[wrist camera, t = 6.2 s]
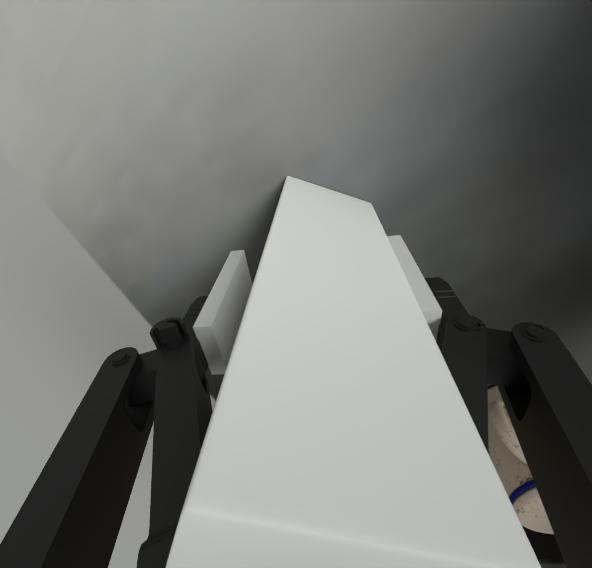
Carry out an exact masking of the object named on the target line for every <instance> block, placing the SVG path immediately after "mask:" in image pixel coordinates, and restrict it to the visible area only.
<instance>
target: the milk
mask: <svg viewBox="0 0 592 568" xmlns="http://www.w3.org/2000/svg"><path fill="white" fill-rule="evenodd" d="M165 568H541V566H540V564H539V562H538V560H537V558H536V555H535V553H534V551H533V549H532V547H531V545H530V542H529V540H528V538H527V536H526V534H525V532H524V529H523V527H522V525H521V523H520V521H519V519H518V517H517V514H516V512H515V510H514V508H513V506H512V504H511V502H510V499H509V497H508V495H507V493H506V491H505V489H504V487H503V484H502V482H501V480H500V478H499V476H498V474H497V472H496V469H495V467H494V465H493V463H492V461H491V459H490V457H489V454H488V452H487V450H486V448H485V446H484V444H483V442H482V439H481V437H480V435H479V433H478V431H477V429H476V427H475V424H474V422H473V420H472V418H471V416H470V414H469V412H468V409H467V407H466V405H465V403H464V401H463V399H462V397H461V394H460V392H459V390H458V388H457V386H456V384H455V382H454V379H453V377H452V375H451V373H450V371H449V369H448V367H447V364H446V362H445V360H444V358H443V356H442V354H441V352H440V349H439V347H438V345H437V343H436V341H435V339H434V337H433V334H432V332H431V330H430V328H429V326H428V324H427V322H426V319H425V317H424V315H423V313H422V311H421V309H420V307H419V304H418V302H417V300H416V298H415V296H414V294H413V292H412V289H411V287H410V285H409V283H408V281H407V279H406V277H405V274H404V272H403V270H402V268H401V266H400V264H399V262H398V259H397V257H396V255H395V253H394V251H393V249H392V247H391V244H390V242H389V240H388V238H387V236H386V234H385V232H384V229H383V227H382V225H381V223H380V221H379V219H378V217H377V214H376V212H375V210H374V208H373V206H372V204H371V203H369V202H366V201H363V200H360V199H357V198H354V197H351V196H348V195H345V194H342V193H339V192H336V191H333V190H330V189H327V188H324V187H321V186H318V185H315V184H312V183H309V182H306V181H303V180H300V179H297V178H294V177H290V176H287V177H286V180H285V183H284V186H283V189H282V192H281V196H280V199H279V202H278V205H277V208H276V212H275V215H274V218H273V221H272V224H271V228H270V231H269V234H268V237H267V240H266V244H265V247H264V250H263V253H262V256H261V260H260V263H259V266H258V269H257V272H256V276H255V279H254V282H253V285H252V288H251V291H250V295H249V298H248V301H247V304H246V307H245V311H244V314H243V317H242V320H241V323H240V327H239V330H238V333H237V336H236V339H235V343H234V346H233V349H232V352H231V355H230V359H229V362H228V365H227V368H226V371H225V375H224V378H223V381H222V384H221V387H220V390H219V394H218V397H217V400H216V403H215V407H214V410H213V413H212V416H211V419H210V422H209V426H208V429H207V432H206V435H205V438H204V442H203V445H202V448H201V451H200V454H199V458H198V461H197V464H196V467H195V470H194V474H193V477H192V480H191V483H190V486H189V490H188V493H187V496H186V499H185V502H184V506H183V509H182V512H181V515H180V519H179V522H178V525H177V529H176V532H175V536H174V539H173V543H172V546H171V550H170V553H169V557H168V560H167V564H166V567H165Z"/></svg>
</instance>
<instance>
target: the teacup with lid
mask: <svg viewBox="0 0 592 568" xmlns="http://www.w3.org/2000/svg"><path fill="white" fill-rule="evenodd" d="M488 447H489V457H490V459H491V461H492V463H493V465H494V467H495V469H496V472H497V474H498V476H499V478H500V480H501V482H502V484H503V487H504V489H505V491H506V493H507V495H508V497H509V499H510V502H511V504H512V506H513V508H514V510H515V512H516V514H517V517H518V519H519V521H520V523H521V525H523V526H524V527H526V528H528V529H530V530H533V531H537V532H541V533H548V534H554V532H553V530H552V527H551V525H550V522H549V519H548V517H547V514H546V512H545V509H544V506H543V504H542V501H541V499H540V496H539V493H538V491H537V488H536V486H535V483H534V480H533V478H532V475H531V473H530V470H529V467H528V465H527V462H526V460H525V457H524V454H523V452H522V449H521V446H520V444H519V441H518V439H517V436H516V433H515V431H514V428H513V426H512V423H511V420H510V418H509V415H508V413H507V410H506V407H505V405H504V402H503V400H502V397H501V394H500V392H499V389H498V387H497V385H496V386H494V387H492V388H490V389H488Z"/></svg>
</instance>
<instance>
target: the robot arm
mask: <svg viewBox="0 0 592 568" xmlns="http://www.w3.org/2000/svg"><path fill="white" fill-rule="evenodd" d="M387 238H388V240H389V242H390V244H391V247H392V249H393V251H394V253H395V255H396V257H397V259H398V262H399V264H400V266H401V268H402V270H403V272H404V274H405V277H406V279H407V281H408V283H409V285H410V287H411V289H412V292H413V294H414V296H415V298H416V300H417V302H418V304H419V307H420V309H421V311H422V313H423V315H424V317H425V319H426V322H427V324H428V326H429V328H430V330H431V332H432V334H433V337H434V339H435V341H436V343H437V345H438V347H439V349H440V352H441V354H442V356H443V358H444V360H445V362H446V364H447V367H448V369H449V371H450V373H451V375H452V377H453V379H454V382H455V384H456V386H457V388H458V390H459V392H460V394H461V397H462V399H463V401H464V403H465V405H466V407H467V409H468V412H469V414H470V416H471V418H472V420H473V422H474V424H475V427H476V429H477V431H478V433H479V435H480V437H481V439H482V442H483V444H484V446H485V448H486V450H487V452H488V454H489V447H488V387H487V383H490V384H494V385H497V387H498V389H499V392H500V394H501V397H502V400H503V402H504V405H505V407H506V410H507V413H508V415H509V418H510V420H511V423H512V426H513V428H514V431H515V433H516V436H517V439H518V441H519V444H520V446H521V449H522V452H523V454H524V457H525V460H526V462H527V465H528V467H529V470H530V473H531V475H532V478H533V480H534V483H535V486H536V488H537V491H538V493H539V496H540V499H541V501H542V504H543V506H544V509H545V512H546V514H547V517H548V519H549V522H550V525H551V527H552V530H553V532H554V535H555V538H556V540H557V543H558V545H559V548H560V550H561V553H562V556H563V558H564V561H565V564H566V566H567V568H592V385H591V383H590V382H589V380H588V379H587V377H586V376H585V374H584V373H583V372H582V370H581V369H580V367H579V366H578V364H577V363H576V361H575V360H574V358H573V357H572V356H571V354H570V353H569V351H568V350H567V348H566V347H565V345H564V344H563V342H562V341H561V340H560V338H559V337H558V335H557V334H555V333H554V332H553V331H552V330H550V329H549V328H547V327H545V326H542V325H539V324H535V323H528V322H527V323H519V324H517V325H515V326H514V327H513V329H512V332H508V331H501V330H495V329H490V328H487V327H486V326H485V324H484V323H483V322H482V321H481V320H480V319H478V318H476V317H474V316H470V315H469V314H468V313H467V311H466V310H465V308H464V307H463V305H462V304H461V302H460V301H459V299H458V298H457V297H456V295H455V293H454V292H453V291H452V289H451V287H450V286H449V284H448V283H447V282H446V281H444V280H442V279H441V278H439V277H435V278H424V277H423V275H422V273H421V272H420V270H419V268H418V266H417V264H416V263H415V261H414V259H413V257H412V255H411V254H410V252H409V250H408V248H407V246H406V245H405V243H404V241H403V239H402V237H401V236H400V235H397V236H387ZM251 288H252V281H251V277H250V273H249V268H248V264H247V260H246V256H245V252H244V250H238V251H231V252H230V254H229V256H228V258H227V260H226V262H225V264H224V266H223V268H222V270H221V272H220V274H219V276H218V278H217V280H216V282H215V284H214V286H213V288H212V290H211V292H210V294H209V296H202V297H199V298H197V299H196V300H195V301H194V302H193V303H192V304H191V306H190V308H189V310H188V311H187V313H186V315H185V317H184V319H183V320H182V319H180V318H168V319H165V320H162V321H160V322H159V323H157V324H156V325H154V327H153V328H152V329H151V331H150V335H151V337H152V339H153V341H154V343H155V345H156V347H157V349H156V350H153V351H150V352H146V353H143V354H139V353H138V352H137V350H136V349H135V348H132V347H127V348H123V349H120V350H117V351H116V352H114V353H112V354H111V355H110V356H108V357H107V359H106V360H105V361H104V363H103V364H102V366H101V368H100V370H99V372H98V373H97V375H96V377H95V378H94V380H93V382H92V384H91V385H90V387H89V389H88V391H87V393H86V394H85V396H84V398H83V400H82V401H81V403H80V405H79V407H78V408H77V410H76V412H75V414H74V416H73V417H72V419H71V421H70V423H69V424H68V426H67V428H66V430H65V431H64V433H63V435H62V437H61V438H60V440H59V442H58V444H57V445H56V447H55V449H54V451H53V453H52V454H51V456H50V458H49V459H48V461H47V463H46V465H45V466H44V468H43V470H42V472H41V474H40V475H39V477H38V479H37V481H36V482H35V484H34V486H33V488H32V489H31V491H30V493H29V495H28V497H27V498H26V500H25V502H24V504H23V505H22V507H21V509H20V511H19V512H18V514H17V516H16V518H15V519H14V521H13V523H12V525H11V527H10V528H9V530H8V532H7V533H6V535H5V537H4V539H3V541H2V542H1V544H0V568H108V565H109V562H110V559H111V555H112V552H113V549H114V546H115V542H116V539H117V536H118V533H119V530H120V527H121V523H122V520H123V517H124V514H125V511H126V507H127V504H128V501H129V498H130V495H131V492H132V488H133V485H134V482H135V479H136V475H137V473H138V469H139V466H140V462H141V460H142V457H143V453H144V450H145V447H146V444H147V440H148V437H149V434H150V431H151V428H152V425H153V422H154V435H153V461H152V481H151V506H150V528H149V536H148V538H147V540H146V541H145V542H144V543H143V544H142V545H141V547H140V550H139V554H138V561H137V568H165V567H166V564H167V560H168V557H169V553H170V550H171V546H172V543H173V539H174V536H175V532H176V529H177V525H178V522H179V519H180V515H181V512H182V509H183V506H184V502H185V499H186V496H187V493H188V490H189V486H190V483H191V480H192V477H193V474H194V470H195V467H196V464H197V461H198V458H199V454H200V451H201V448H202V445H203V442H204V438H205V435H206V432H207V429H208V426H209V422H210V419H211V416H212V407H211V399H210V393H209V386H208V380H207V378H206V375H205V373H206V370H207V367H209V369H210V372H211V374H212V375H215V374H225V371H226V368H227V365H228V362H229V359H230V355H231V352H232V349H233V346H234V343H235V339H236V336H237V333H238V330H239V327H240V323H241V320H242V317H243V314H244V311H245V307H246V304H247V301H248V298H249V295H250V291H251Z"/></svg>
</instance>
